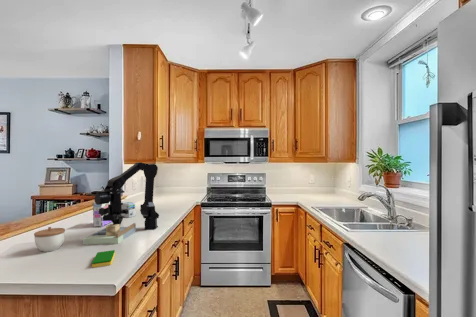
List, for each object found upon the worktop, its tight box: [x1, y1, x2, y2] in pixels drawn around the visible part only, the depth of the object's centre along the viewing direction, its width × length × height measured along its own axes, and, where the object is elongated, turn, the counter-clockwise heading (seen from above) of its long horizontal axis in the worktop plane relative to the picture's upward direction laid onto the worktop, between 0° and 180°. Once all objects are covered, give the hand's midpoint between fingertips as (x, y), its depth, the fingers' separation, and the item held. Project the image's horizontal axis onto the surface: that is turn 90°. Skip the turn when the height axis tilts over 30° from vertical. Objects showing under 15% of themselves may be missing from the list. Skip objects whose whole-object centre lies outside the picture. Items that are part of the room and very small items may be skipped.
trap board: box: [83, 222, 137, 246], centre depth 157 cm, size 18×23×5 cm
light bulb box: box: [121, 201, 137, 219], centre depth 216 cm, size 11×7×11 cm, turn 65°
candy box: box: [92, 201, 113, 228], centre depth 191 cm, size 14×6×16 cm, turn 179°
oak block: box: [105, 223, 121, 236], centre depth 152 cm, size 5×5×5 cm
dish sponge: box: [91, 249, 116, 268], centre depth 121 cm, size 7×14×2 cm, turn 17°
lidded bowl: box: [33, 226, 66, 253], centre depth 140 cm, size 13×13×11 cm
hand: (116, 230), depth 156 cm, fingers closed
